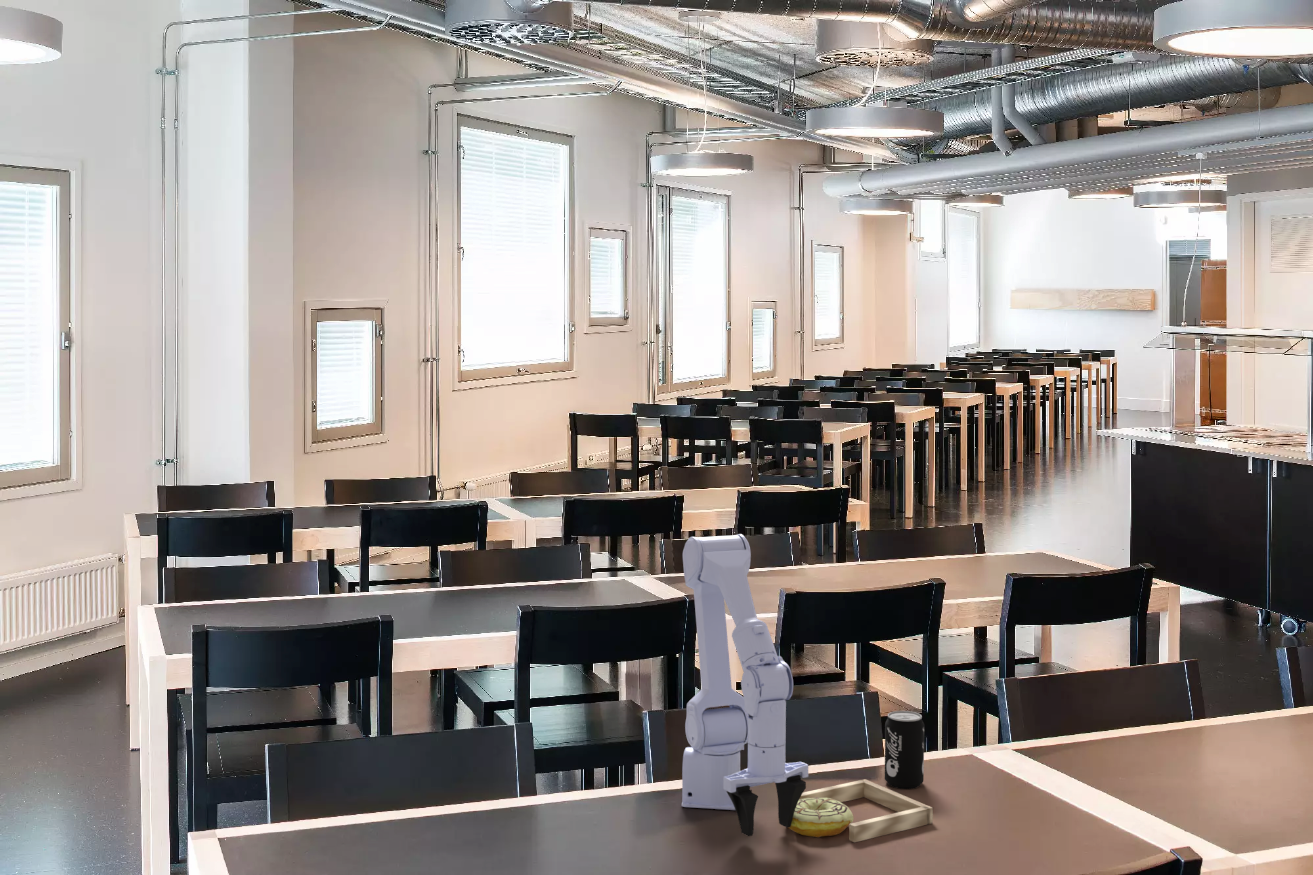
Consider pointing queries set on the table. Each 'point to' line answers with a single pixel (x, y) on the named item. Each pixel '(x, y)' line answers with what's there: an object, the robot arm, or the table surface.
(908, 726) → the beverage can
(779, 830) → the table surface
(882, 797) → the u-shaped wooden bracket
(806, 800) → the decorated donut
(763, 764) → the robot arm
